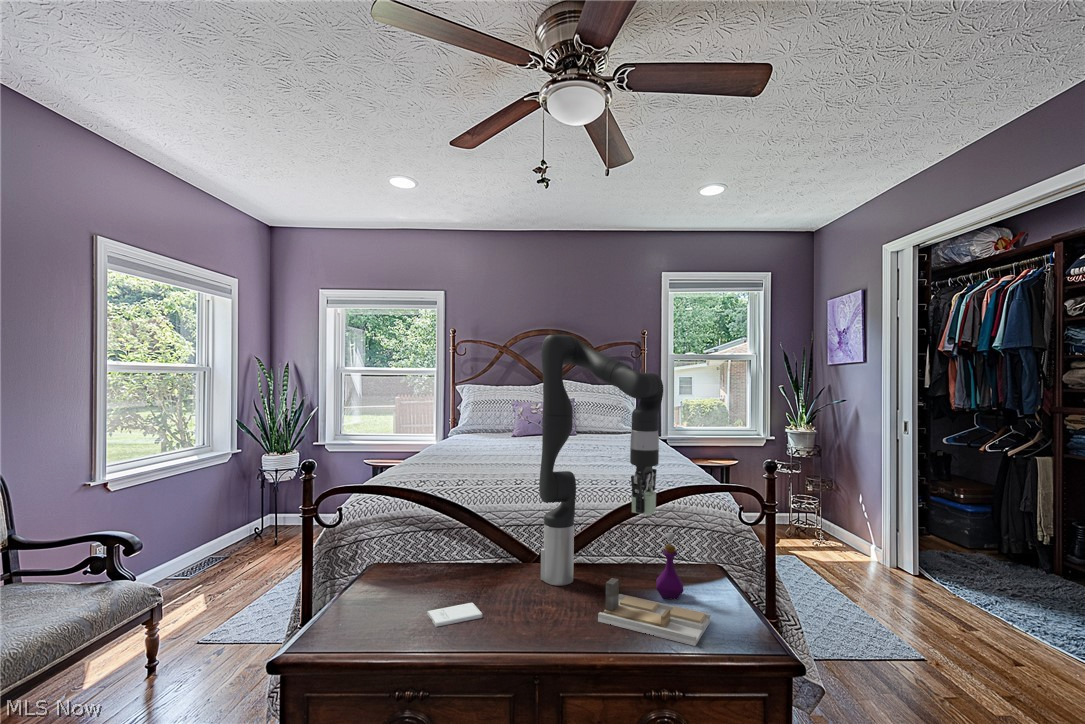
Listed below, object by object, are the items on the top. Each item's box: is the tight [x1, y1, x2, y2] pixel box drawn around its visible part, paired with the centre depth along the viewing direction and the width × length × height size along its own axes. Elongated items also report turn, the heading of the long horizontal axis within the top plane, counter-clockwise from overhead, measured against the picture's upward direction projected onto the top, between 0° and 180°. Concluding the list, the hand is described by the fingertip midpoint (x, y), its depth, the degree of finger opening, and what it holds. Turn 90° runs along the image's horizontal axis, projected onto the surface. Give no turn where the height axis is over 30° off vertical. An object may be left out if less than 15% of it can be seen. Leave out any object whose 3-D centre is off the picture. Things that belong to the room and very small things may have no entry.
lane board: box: [597, 593, 711, 647], centre depth 146 cm, size 25×15×2 cm, turn 60°
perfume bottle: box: [655, 532, 684, 600], centre depth 163 cm, size 8×8×18 cm
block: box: [631, 491, 657, 516], centre depth 152 cm, size 5×5×5 cm
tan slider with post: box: [603, 577, 670, 628], centre depth 145 cm, size 16×5×8 cm, turn 60°
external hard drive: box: [426, 602, 483, 628], centre depth 148 cm, size 2×8×12 cm
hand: (643, 510), depth 152 cm, fingers closed on block, 5 cm apart
